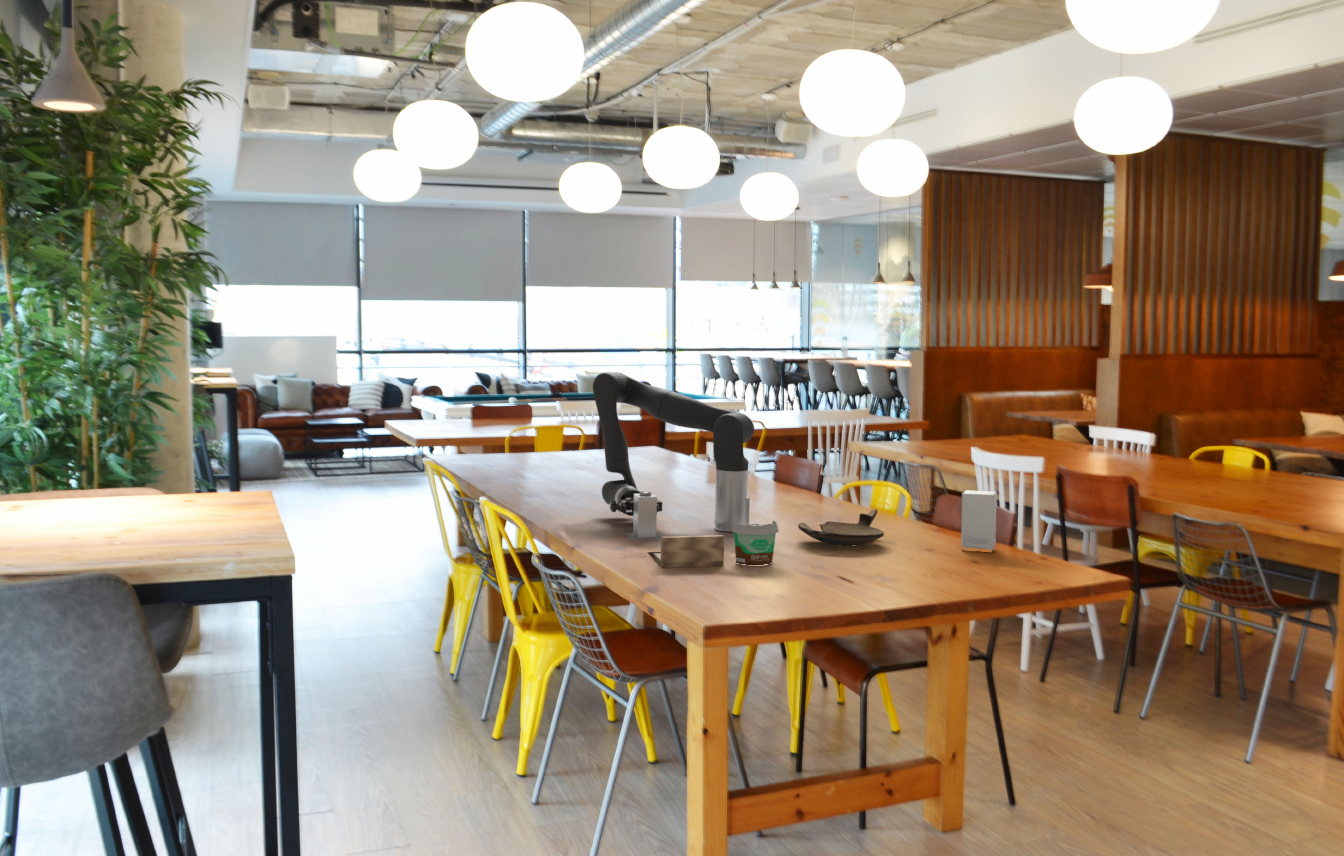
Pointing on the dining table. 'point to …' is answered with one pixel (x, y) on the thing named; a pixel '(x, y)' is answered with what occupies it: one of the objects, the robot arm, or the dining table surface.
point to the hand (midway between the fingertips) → (640, 509)
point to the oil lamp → (846, 531)
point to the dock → (690, 551)
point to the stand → (642, 538)
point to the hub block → (645, 515)
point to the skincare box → (978, 519)
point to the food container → (754, 543)
